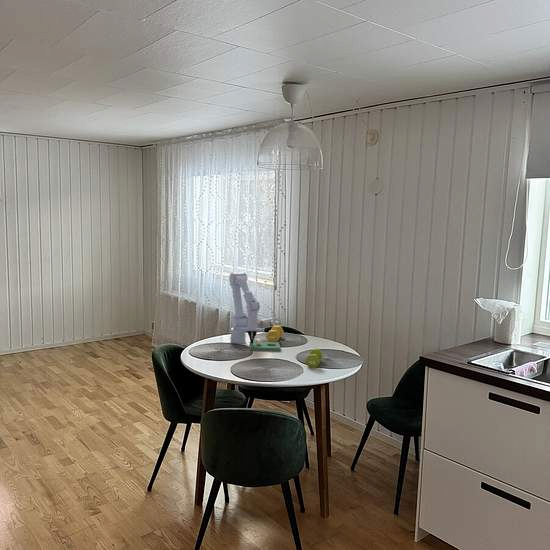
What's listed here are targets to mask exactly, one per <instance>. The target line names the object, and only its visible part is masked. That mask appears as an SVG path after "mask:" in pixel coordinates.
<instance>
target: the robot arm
mask: <svg viewBox="0 0 550 550" xmlns="http://www.w3.org/2000/svg"><path fill="white" fill-rule="evenodd" d="M228 279H229V285H230V287H231V290H232V298H233V305H234V314H233V315H231V322H230V323H231V326H232V328H230V337H229V340H230V344H247V340H246V334H247V335H248V337H249V341H250V342H249V344H250V343H251V344H253V342H255V341H254V340H255V338H256V336H257V334H258V333H265V328H264V327H263V328H262V327H258V312H259V311H260V307H261V306H260V302H259V301H258V300H257V299H256V298H255V296H254V294H253V292H252V291H250V288H249V284H248V282H247V281H248V275H247V273H246V272H230V274H229V277H228ZM241 290H242V291H243V292H242V291H241ZM242 293H243V298H244V301H245V303H246V306H245V307H246V313H247V314H246V313H245V312H244V309H243V308H244V307H243V300H242V299H243V298H242ZM246 332H247V333H246Z"/></svg>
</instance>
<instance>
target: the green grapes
mask: <svg viewBox="0 0 550 550" xmlns="http://www.w3.org/2000/svg"><path fill="white" fill-rule="evenodd" d="M323 357H324V354H323V352H322V350H321V349H320V348H312V349H311V350H310V352H309V353H308V355H307V357H306V358H305V360H304V361H305V365H306V366H307V368H309V369H317V368H318V366H319V364H320V363H321V360H322V358H323Z"/></svg>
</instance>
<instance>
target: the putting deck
mask: <svg viewBox="0 0 550 550" xmlns="http://www.w3.org/2000/svg"><path fill="white" fill-rule="evenodd" d="M249 349H250V352H281V351H282V347H281V345H280V343H279V342H268V341H261V344H260V345H257V344H256V341H253V344H251V343H250V342H249Z"/></svg>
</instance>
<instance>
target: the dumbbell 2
mask: <svg viewBox="0 0 550 550" xmlns="http://www.w3.org/2000/svg"><path fill="white" fill-rule="evenodd" d="M271 327H272V328H271V329H270V330H269V331H268V332H267V334H266V335H265V338H266V340H267V342H278V341H279V340H280V339H281V337H282V336H283V335H284V330H283V327H282V326H281V325H273V326H271Z"/></svg>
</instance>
